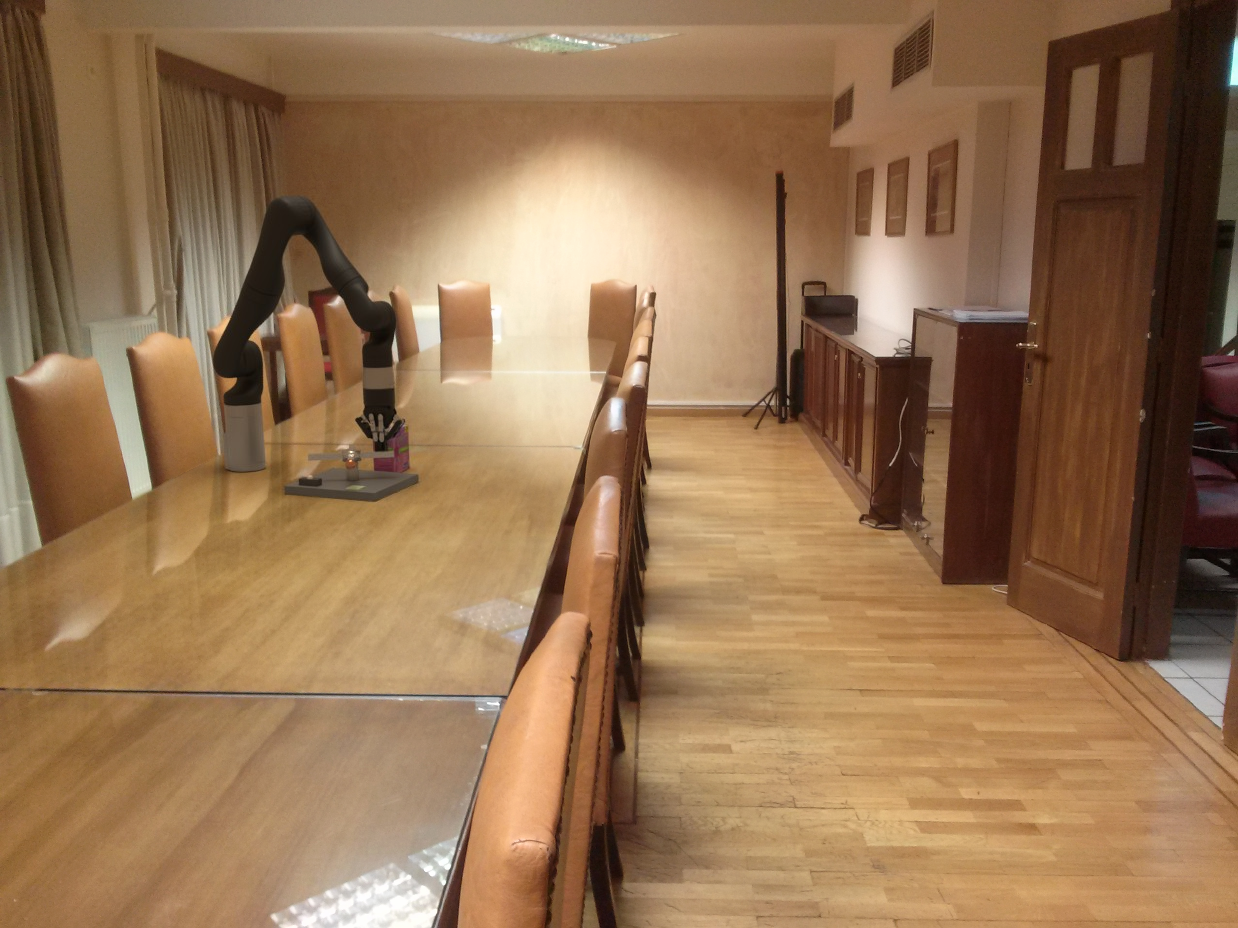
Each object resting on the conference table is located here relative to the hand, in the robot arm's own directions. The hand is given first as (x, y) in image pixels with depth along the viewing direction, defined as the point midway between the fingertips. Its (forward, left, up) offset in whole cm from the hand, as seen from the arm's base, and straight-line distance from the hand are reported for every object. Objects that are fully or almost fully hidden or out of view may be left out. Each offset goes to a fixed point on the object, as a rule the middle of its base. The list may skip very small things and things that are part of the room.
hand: (381, 456), depth 263 cm
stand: (-5, -5, -7) cm, 10 cm away
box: (-5, +14, -7) cm, 16 cm away
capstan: (-5, -6, 0) cm, 8 cm away
